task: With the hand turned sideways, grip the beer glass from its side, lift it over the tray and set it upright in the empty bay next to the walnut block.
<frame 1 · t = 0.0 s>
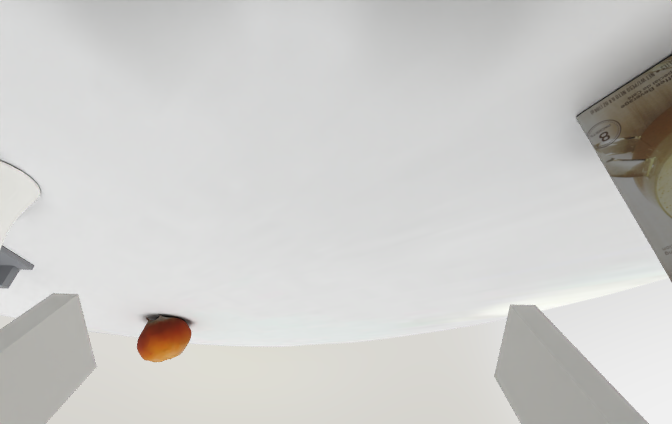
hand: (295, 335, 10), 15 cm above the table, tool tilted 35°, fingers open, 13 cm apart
fruit: (170, 318, 59), on the table
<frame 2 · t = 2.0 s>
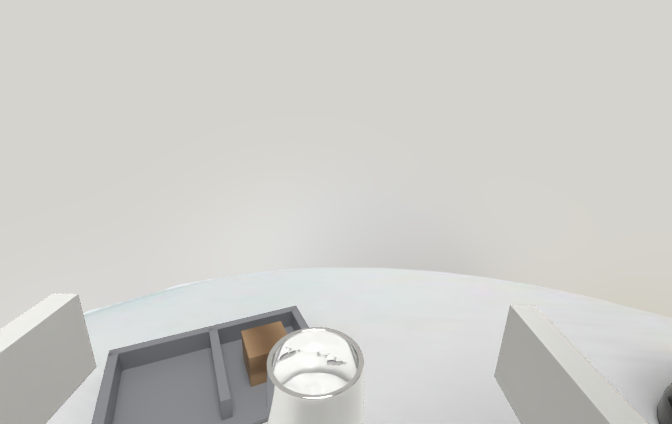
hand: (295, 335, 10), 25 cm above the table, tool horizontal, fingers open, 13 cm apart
tray: (221, 382, 39), on the table
walnut block: (267, 365, 41), resting on tray
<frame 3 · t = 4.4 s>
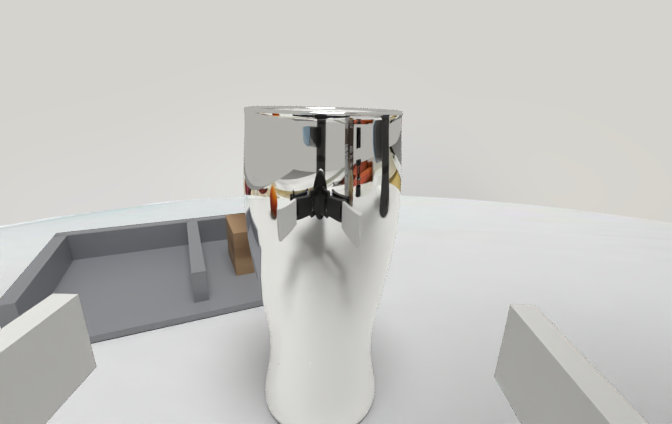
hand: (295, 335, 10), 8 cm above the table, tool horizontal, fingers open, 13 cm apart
tray: (198, 274, 30), on the table
beer glass: (320, 389, 19), on the table
walnut block: (258, 259, 32), resting on tray
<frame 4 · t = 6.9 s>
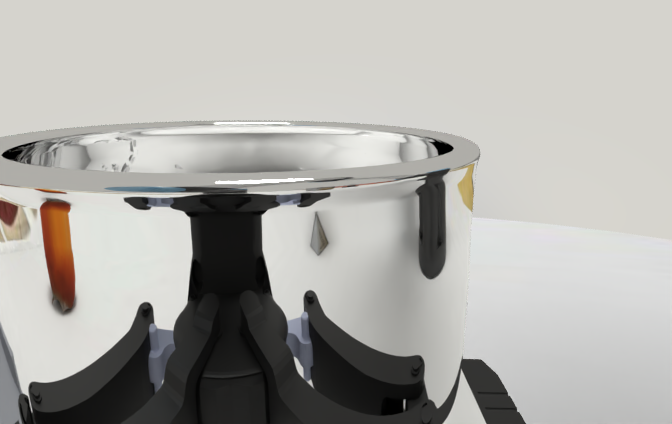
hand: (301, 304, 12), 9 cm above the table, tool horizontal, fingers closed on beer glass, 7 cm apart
tray: (130, 349, 22), on the table
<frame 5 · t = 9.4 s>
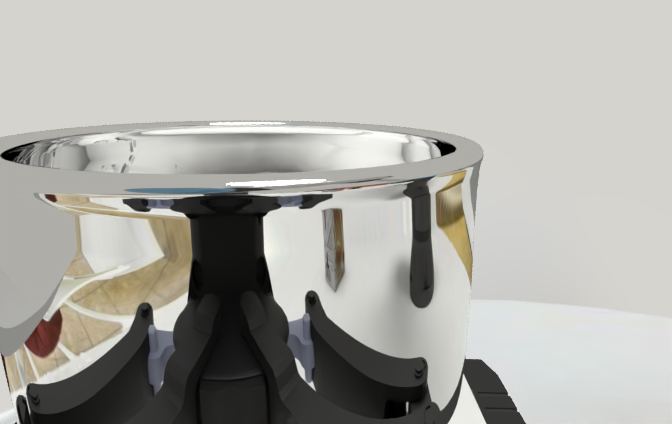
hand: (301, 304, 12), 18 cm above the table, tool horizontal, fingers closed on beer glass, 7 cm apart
when the fingers open (9 cm above the table, at t = 12.3 s): beer glass stays where it is, resting on tray.
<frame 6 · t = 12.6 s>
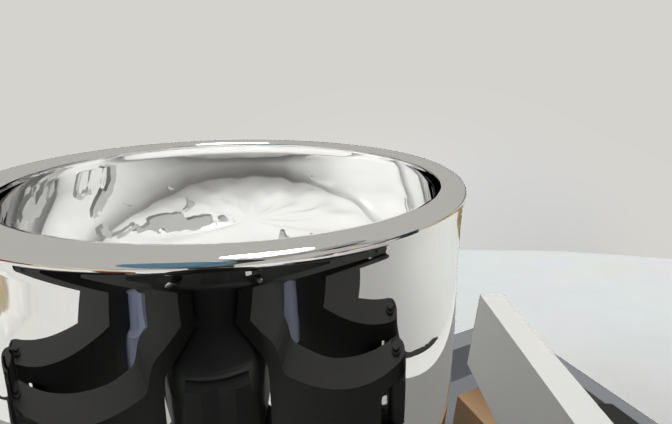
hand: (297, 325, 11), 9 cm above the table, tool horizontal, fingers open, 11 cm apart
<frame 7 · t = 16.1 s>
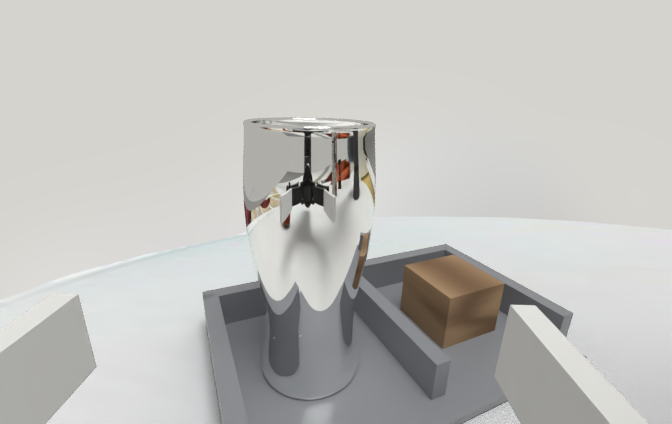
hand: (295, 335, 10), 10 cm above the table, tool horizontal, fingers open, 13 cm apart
tray: (385, 343, 24), on the table
beer glass: (310, 363, 22), resting on tray
walnut block: (445, 319, 26), resting on tray
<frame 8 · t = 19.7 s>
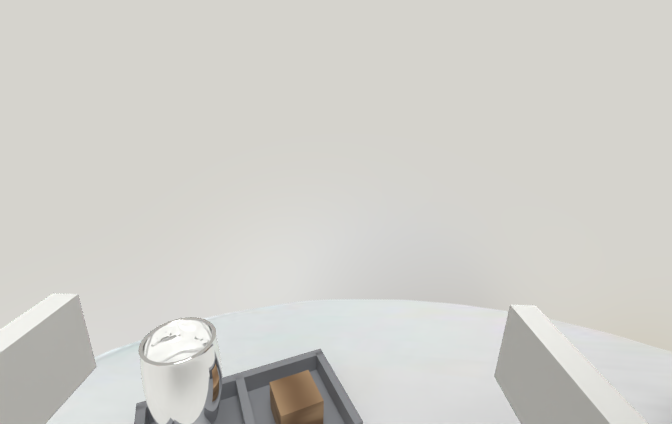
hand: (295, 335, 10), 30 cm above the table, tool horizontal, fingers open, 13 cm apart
walnut block: (296, 416, 41), resting on tray
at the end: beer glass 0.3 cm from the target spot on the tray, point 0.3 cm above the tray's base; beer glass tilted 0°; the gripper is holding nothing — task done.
